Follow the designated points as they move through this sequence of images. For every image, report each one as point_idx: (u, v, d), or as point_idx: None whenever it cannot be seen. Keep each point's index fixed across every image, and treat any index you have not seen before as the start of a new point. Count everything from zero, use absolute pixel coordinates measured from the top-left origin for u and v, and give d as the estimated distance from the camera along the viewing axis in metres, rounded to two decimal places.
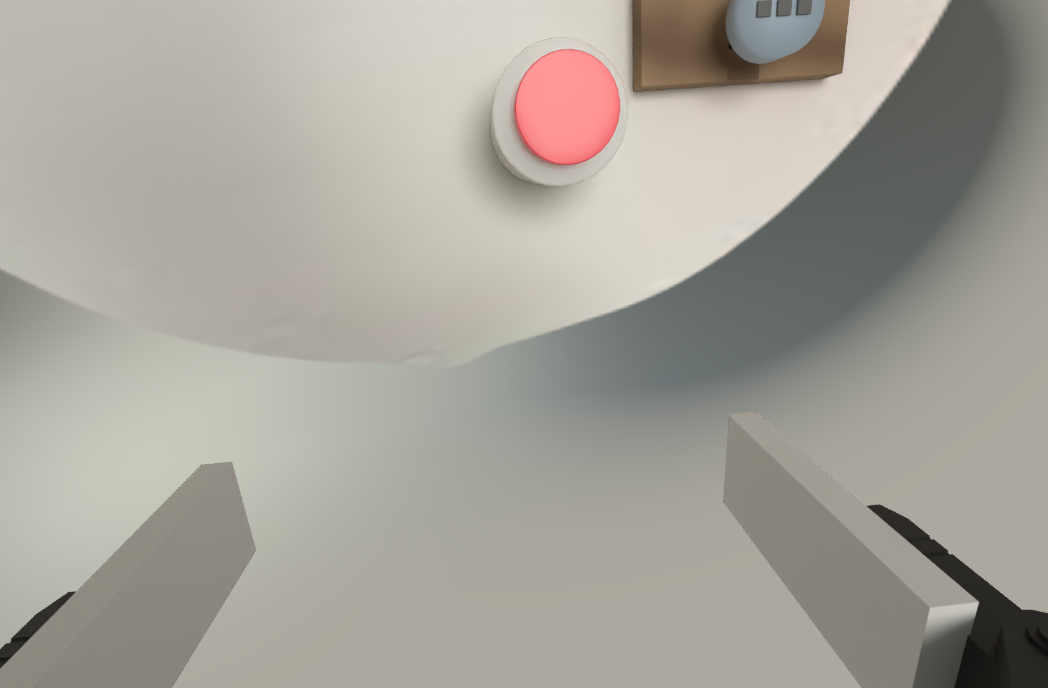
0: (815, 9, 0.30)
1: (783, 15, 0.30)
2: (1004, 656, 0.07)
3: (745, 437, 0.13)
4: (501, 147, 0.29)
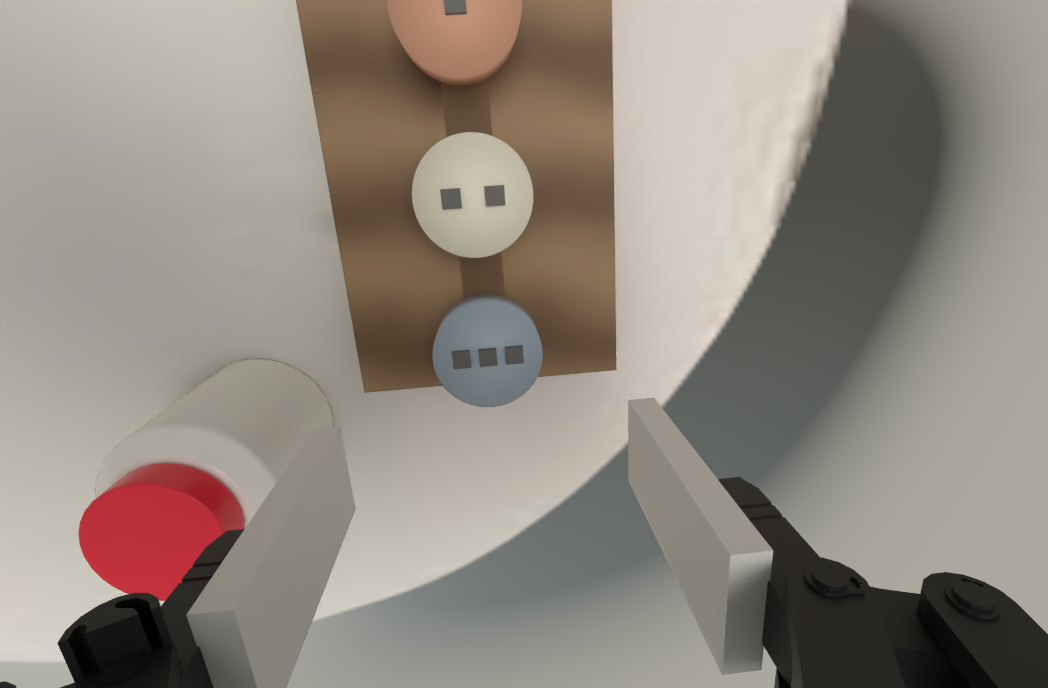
0: (530, 356, 0.24)
1: (489, 364, 0.24)
2: (789, 603, 0.08)
3: (637, 420, 0.14)
4: None
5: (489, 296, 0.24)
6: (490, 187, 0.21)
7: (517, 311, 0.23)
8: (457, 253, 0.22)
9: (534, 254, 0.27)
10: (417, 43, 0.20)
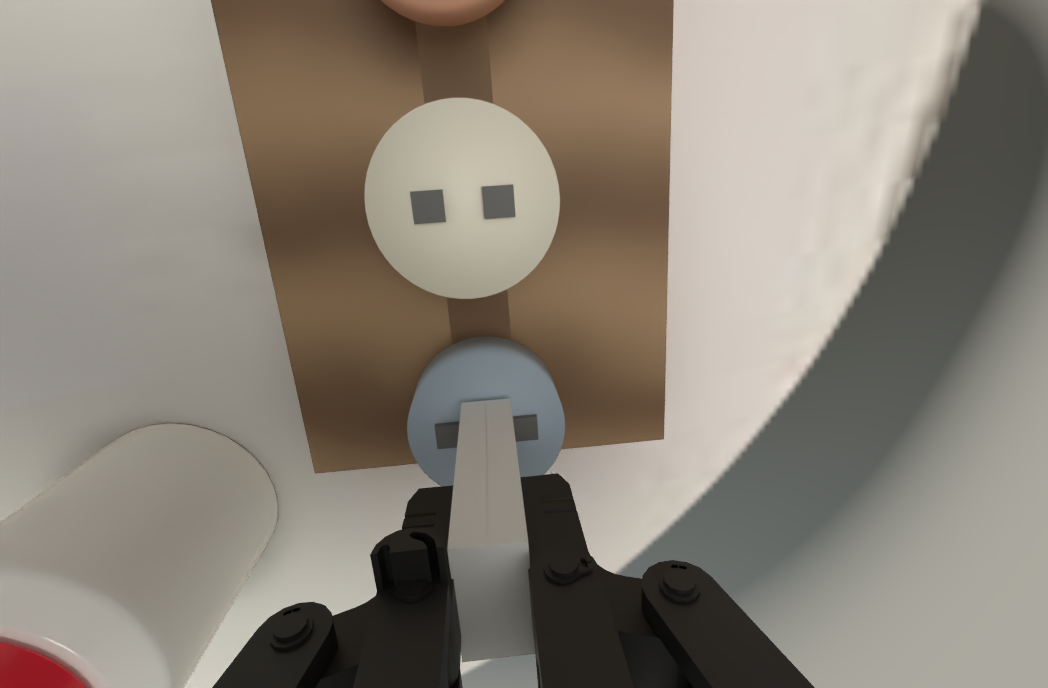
0: (548, 429, 0.17)
1: None
2: (532, 601, 0.08)
3: (486, 419, 0.15)
4: None
5: (489, 342, 0.17)
6: (492, 189, 0.13)
7: (529, 367, 0.16)
8: (439, 292, 0.14)
9: (553, 283, 0.19)
10: None
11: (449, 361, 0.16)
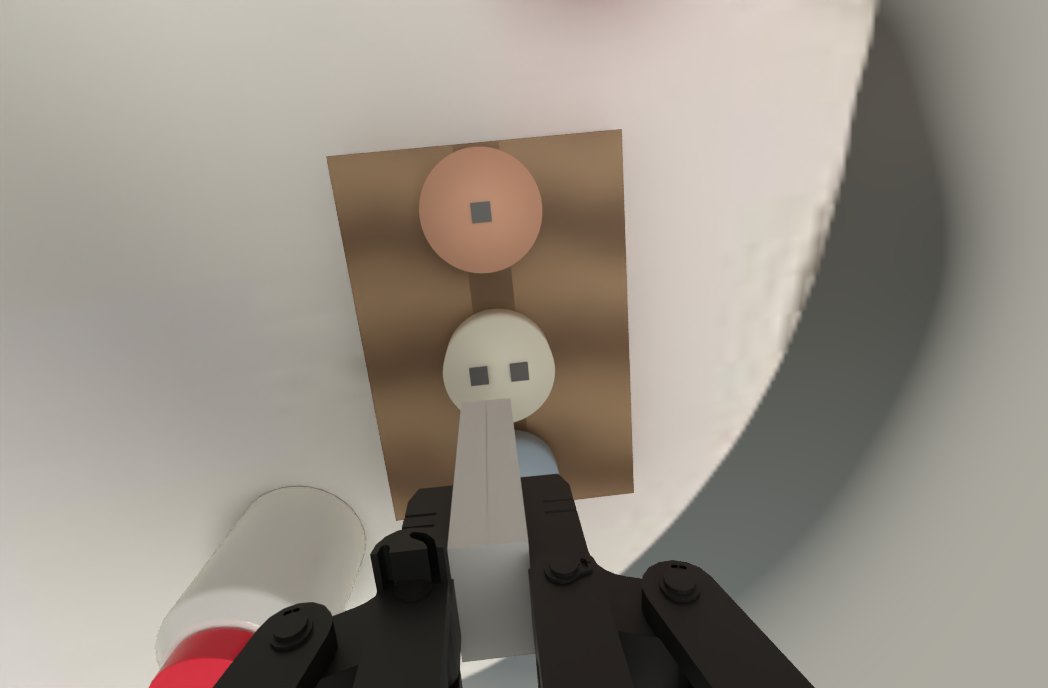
0: None
1: None
2: (532, 601, 0.08)
3: (486, 419, 0.15)
4: None
5: None
6: (515, 365, 0.23)
7: (538, 453, 0.26)
8: None
9: (554, 394, 0.28)
10: (447, 247, 0.21)
11: None
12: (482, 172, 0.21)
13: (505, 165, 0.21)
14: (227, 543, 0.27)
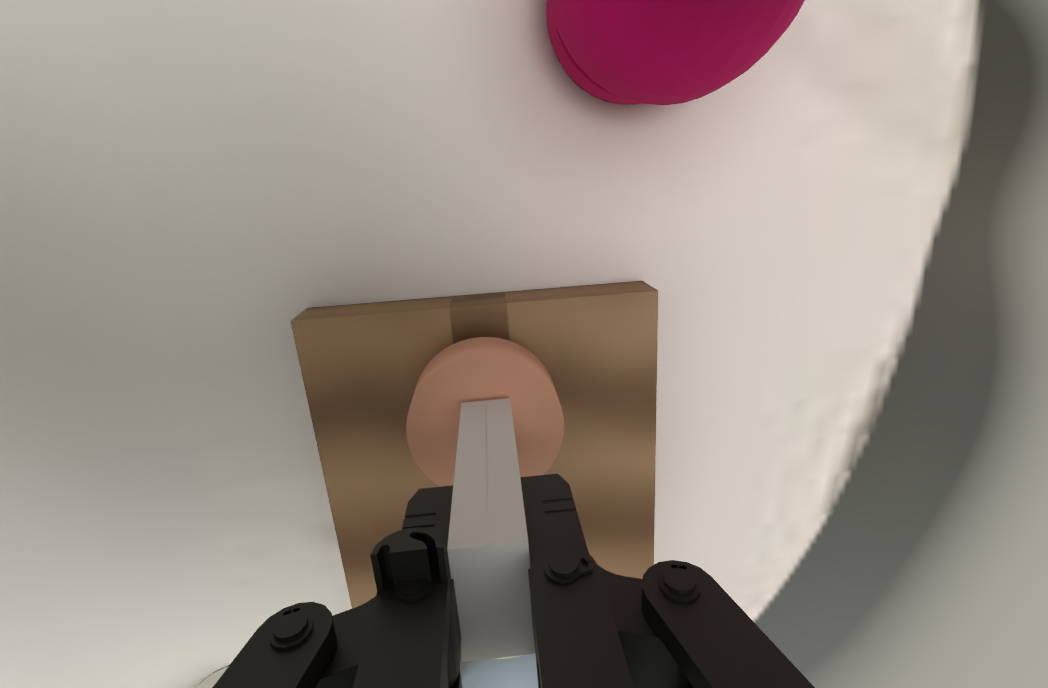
0: None
1: None
2: (532, 601, 0.08)
3: (486, 419, 0.15)
4: None
5: None
6: None
7: None
8: None
9: None
10: (441, 471, 0.17)
11: (487, 664, 0.22)
12: (489, 386, 0.16)
13: (519, 377, 0.16)
14: None
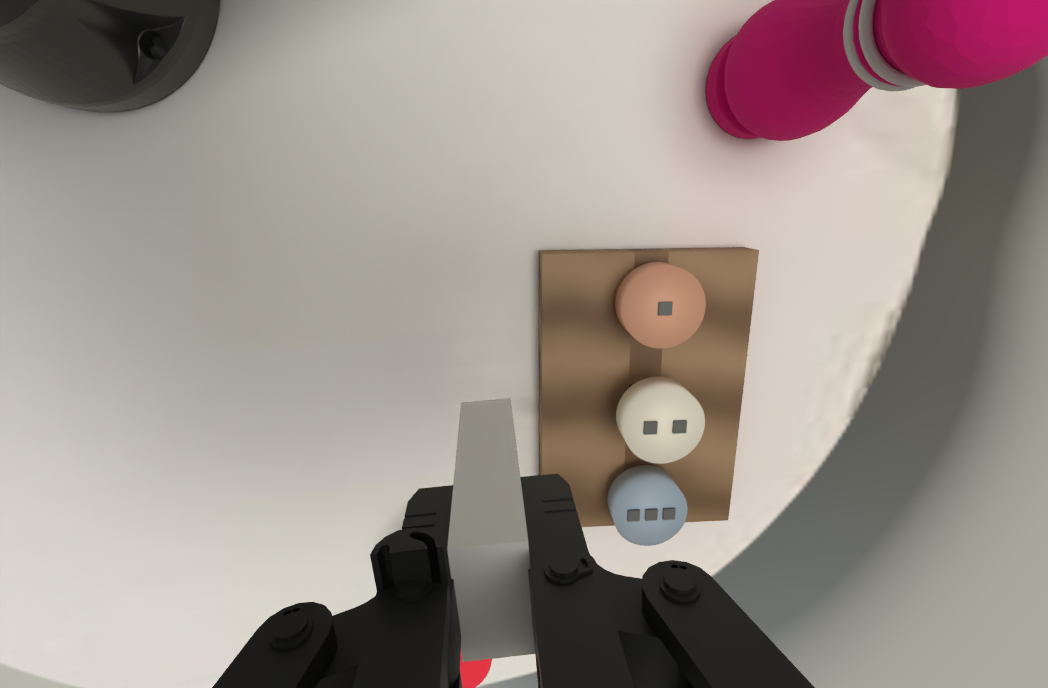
0: (679, 514, 0.35)
1: (651, 518, 0.35)
2: (532, 601, 0.08)
3: (486, 419, 0.15)
4: None
5: (651, 469, 0.35)
6: (678, 422, 0.31)
7: (674, 485, 0.34)
8: (648, 460, 0.32)
9: None
10: (637, 329, 0.31)
11: (637, 481, 0.34)
12: (670, 283, 0.30)
13: (686, 279, 0.30)
14: None
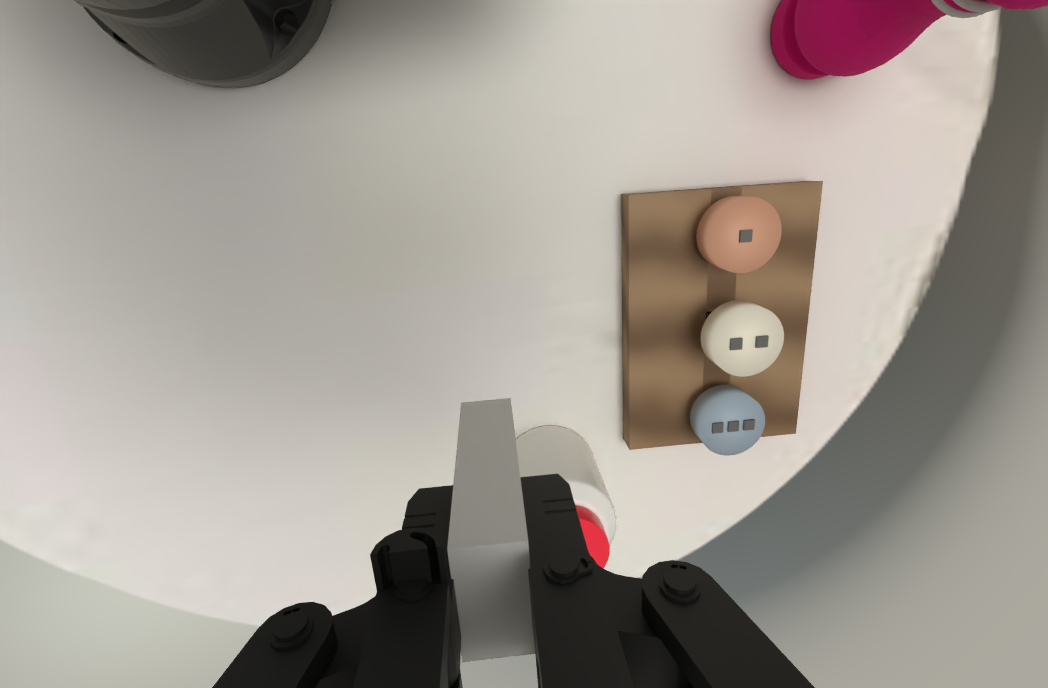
0: (757, 425, 0.39)
1: (732, 430, 0.39)
2: (532, 601, 0.08)
3: (486, 419, 0.15)
4: None
5: (730, 387, 0.39)
6: (760, 337, 0.35)
7: (753, 399, 0.38)
8: (733, 374, 0.36)
9: None
10: (721, 257, 0.35)
11: (720, 396, 0.38)
12: (750, 212, 0.34)
13: (764, 208, 0.34)
14: (532, 458, 0.39)
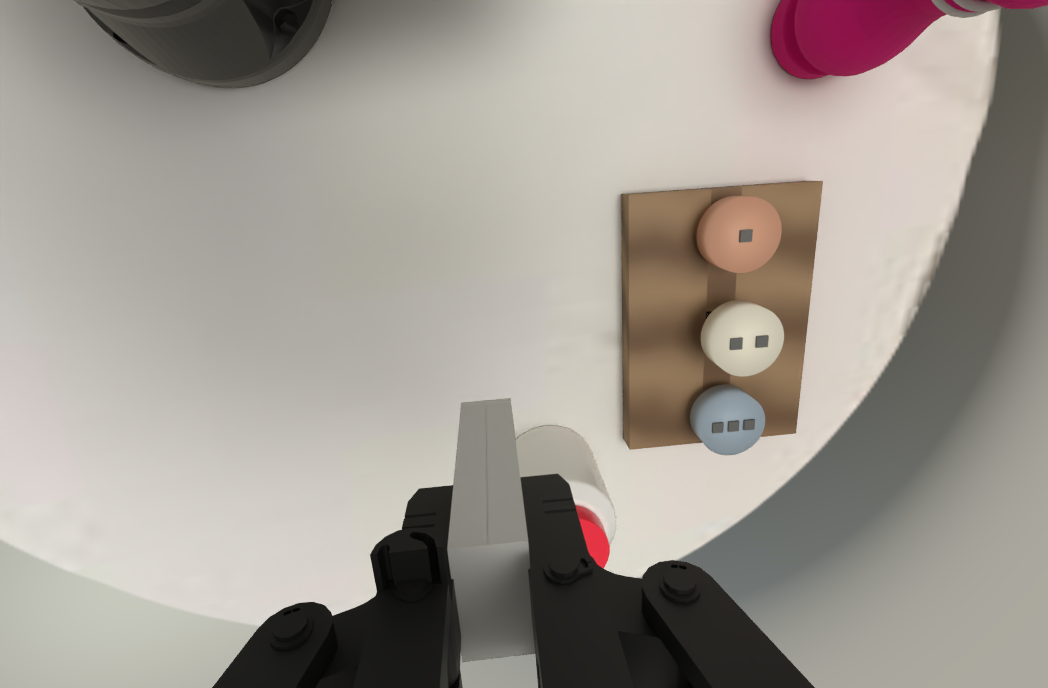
0: (757, 425, 0.39)
1: (732, 429, 0.39)
2: (532, 601, 0.08)
3: (486, 419, 0.15)
4: None
5: (730, 387, 0.39)
6: (761, 337, 0.35)
7: (753, 399, 0.38)
8: (733, 374, 0.36)
9: None
10: (721, 256, 0.35)
11: (720, 396, 0.38)
12: (750, 212, 0.34)
13: (764, 208, 0.34)
14: (532, 458, 0.39)
